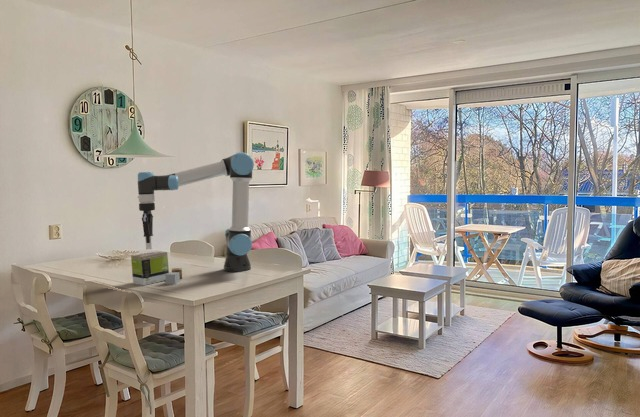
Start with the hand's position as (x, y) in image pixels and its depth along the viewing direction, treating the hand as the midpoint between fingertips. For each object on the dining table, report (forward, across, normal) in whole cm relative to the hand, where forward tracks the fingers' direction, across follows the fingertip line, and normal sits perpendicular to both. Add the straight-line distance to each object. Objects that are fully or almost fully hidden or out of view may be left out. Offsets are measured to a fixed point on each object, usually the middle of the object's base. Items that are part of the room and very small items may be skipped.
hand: (149, 249), depth 247 cm
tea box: (+17, 0, 0) cm, 17 cm away
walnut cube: (+17, -5, +12) cm, 21 cm away
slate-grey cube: (+17, +6, +12) cm, 22 cm away
